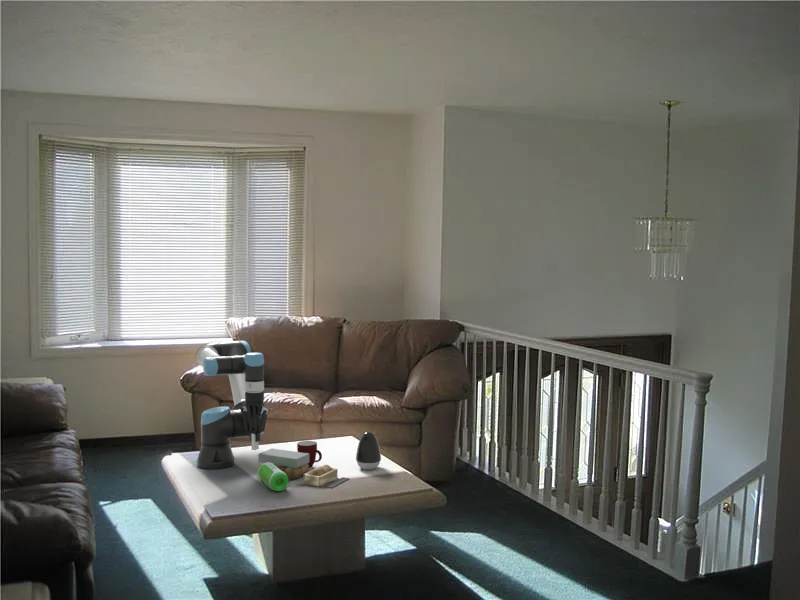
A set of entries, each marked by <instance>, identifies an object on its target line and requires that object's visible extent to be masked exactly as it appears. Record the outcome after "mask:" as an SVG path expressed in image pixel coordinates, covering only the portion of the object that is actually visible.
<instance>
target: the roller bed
mask: <svg viewBox="0 0 800 600" xmlns="http://www.w3.org/2000/svg"><path fill="white" fill-rule="evenodd" d="M275 466H276V467H277V468H279V469H280V470H281V471H283V472H284V473H285V474H286V475H287V477H288V481H292V480H294V479H297V478H298V477H301V476H302V475H303V474H305V473H307V472H309V470H310V468H309V465H308V463H307V464H305V465H302V466H300V467H298V468H293V467H286V466H279V465H275ZM259 467H260V465H259ZM259 467H258V468H259Z"/></svg>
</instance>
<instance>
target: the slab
mask: <svg viewBox="0 0 800 600" xmlns="http://www.w3.org/2000/svg"><path fill="white" fill-rule="evenodd" d="M257 460H258V463H260V464H263V463H266V462H270V463H273V464H274V465H279V466H286V467H293V468H298V467H300V466H302V465H305V464H307V463H309V453H301V452H298V451H294V450H293V451H292V450H286V449H278V448H270V449H267V450H264V451H262V452H259V453H258V459H257Z"/></svg>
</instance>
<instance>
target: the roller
mask: <svg viewBox="0 0 800 600" xmlns="http://www.w3.org/2000/svg"><path fill="white" fill-rule="evenodd" d="M321 466H322V467H320V466H318V467H319V468H317V467H316V468H317V469H315V468H314V469H315V470H313V469H312V470H313V471H311V470H310V471H311V472H309V471H308V472H309V473H308V475H314V476H321V475H323V474H325V473H327V472H329V471H331V470H332V468H333V467H331V466H330V465H329V464H324V465H321Z"/></svg>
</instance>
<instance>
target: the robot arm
mask: <svg viewBox="0 0 800 600" xmlns="http://www.w3.org/2000/svg"><path fill="white" fill-rule="evenodd" d="M195 360H196V363H197V364H198V365H199V366H201V367H202V368H203V370H202V371H203V374H204V375H205V376H211V377H215V376H223V375H227V376H228V379H229V383H230V384H229V385H230V389H231V393H232V394H231V395H232V399H233V404H234V406H233V407H232V409H231V408H230V407H229V406H227V405H226V406H216V407H211V408H208V409H206V410H204V411H202V413H201V414H200V428H201V429H200V431H201V432H200V433H201V434H200V438H201V439H200V443H201V445H200V446H201V447H200V449H199V454H198V457H197V459H196V461H197V462H196V465H197V467H198V466H199V467H198V468H200V467H201V469H205V468H207V470H208V469H209V470H217V469H224V468H229V467H232V466H234V465H235V456H234V453H233V449H232V447H231V439H235V438H245V437H246V438H247V437H249V441H251V451H256V450H258V449H259V448H260V447H259V446H260V445H259V442H260V440H261V435H263V434H264V433H265V429H266V424H267V419H268V414H269V413H270V409H269V408H266V407H265V404H264V401H265V392H264V391H265V379H264V377H265V369H264V368H265V367H264V364H265V358H264V354H263V353H262V352H252V350H251V347H250V344H249V343H248V342H247V341H246V340H238V339H237V340H230V341H229V340H228V341H227V340H224V341H211V342H206V343H204V344H203V345H201V346H199V347H198V349H197V350H196V352H195Z"/></svg>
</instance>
